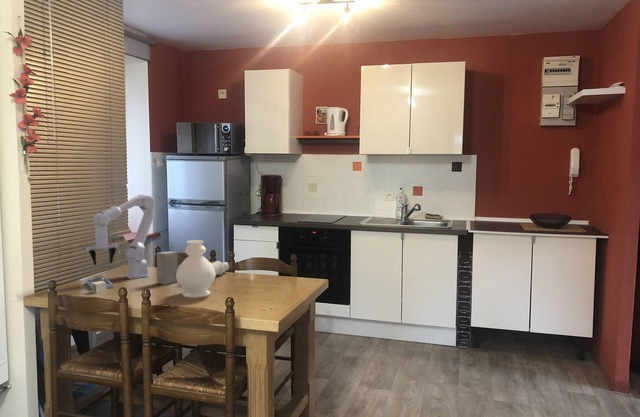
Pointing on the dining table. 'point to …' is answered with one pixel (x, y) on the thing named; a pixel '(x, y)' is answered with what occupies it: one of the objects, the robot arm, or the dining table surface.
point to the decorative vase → (195, 271)
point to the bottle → (220, 267)
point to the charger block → (99, 287)
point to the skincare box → (166, 267)
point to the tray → (108, 283)
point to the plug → (98, 278)
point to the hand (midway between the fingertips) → (103, 263)
